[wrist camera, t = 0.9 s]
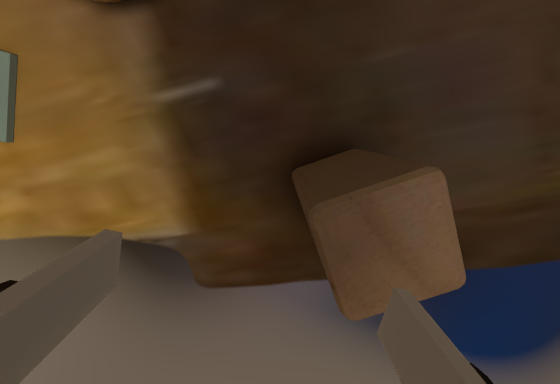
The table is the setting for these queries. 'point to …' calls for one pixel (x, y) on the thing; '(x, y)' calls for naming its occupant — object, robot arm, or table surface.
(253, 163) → the table surface
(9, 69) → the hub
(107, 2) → the potato
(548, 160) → the table surface
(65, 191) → the table surface
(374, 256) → the wooden block
